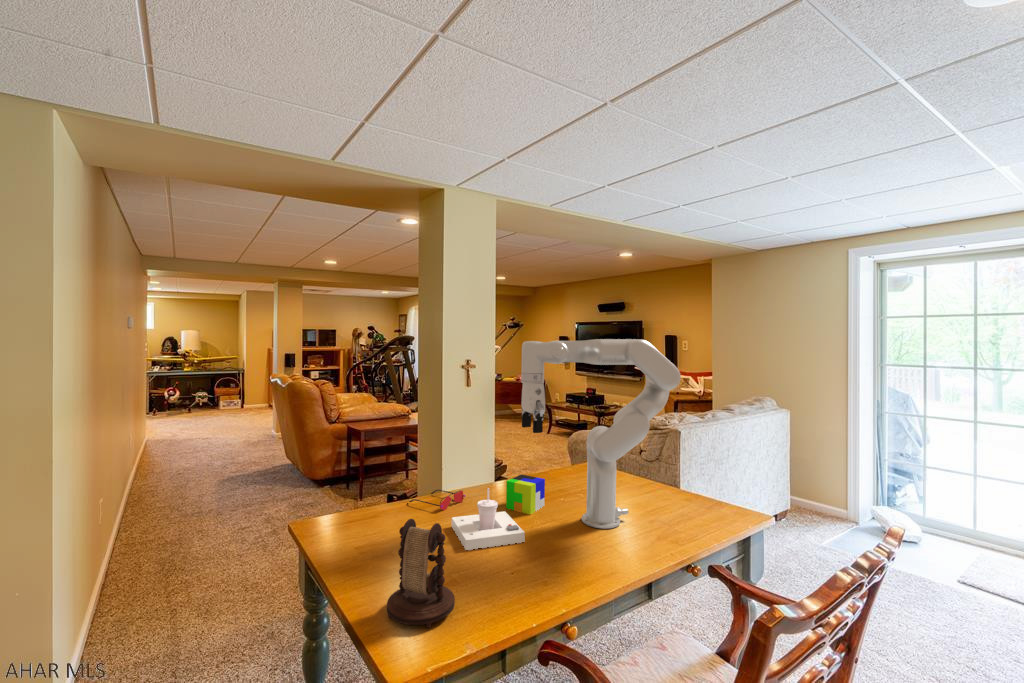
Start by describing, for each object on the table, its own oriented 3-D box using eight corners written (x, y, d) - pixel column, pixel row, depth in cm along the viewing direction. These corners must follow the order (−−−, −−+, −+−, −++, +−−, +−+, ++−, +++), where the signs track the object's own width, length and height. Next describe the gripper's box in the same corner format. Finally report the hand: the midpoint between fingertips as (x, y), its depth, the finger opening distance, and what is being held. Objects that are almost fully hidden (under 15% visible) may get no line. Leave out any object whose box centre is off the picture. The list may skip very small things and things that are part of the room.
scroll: (372, 622, 102) (373, 528, 102) (410, 588, 116) (412, 506, 116) (433, 638, 97) (434, 540, 97) (465, 601, 111) (467, 515, 110)
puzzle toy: (544, 506, 174) (544, 479, 173) (530, 515, 165) (530, 486, 165) (520, 501, 179) (521, 474, 179) (506, 509, 170) (506, 480, 170)
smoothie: (500, 531, 150) (501, 487, 150) (493, 539, 144) (493, 493, 144) (481, 528, 153) (482, 484, 152) (473, 536, 146) (474, 490, 146)
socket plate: (504, 520, 160) (504, 509, 160) (524, 542, 143) (524, 530, 143) (451, 526, 154) (451, 515, 154) (465, 550, 137) (466, 538, 137)
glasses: (441, 514, 165) (441, 499, 165) (406, 504, 174) (406, 491, 174) (465, 502, 177) (466, 489, 177) (431, 494, 186) (431, 481, 186)
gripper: (554, 380, 152) (553, 434, 153) (533, 376, 169) (532, 424, 169) (532, 381, 150) (531, 435, 150) (513, 376, 166) (512, 425, 166)
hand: (531, 429), depth 159 cm, fingers open, 9 cm apart
